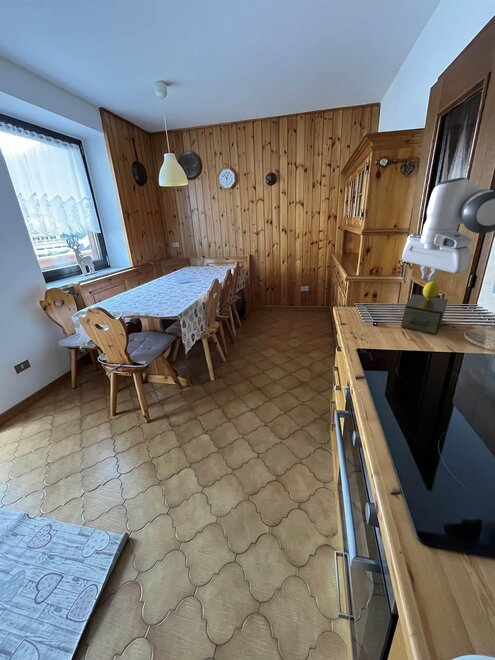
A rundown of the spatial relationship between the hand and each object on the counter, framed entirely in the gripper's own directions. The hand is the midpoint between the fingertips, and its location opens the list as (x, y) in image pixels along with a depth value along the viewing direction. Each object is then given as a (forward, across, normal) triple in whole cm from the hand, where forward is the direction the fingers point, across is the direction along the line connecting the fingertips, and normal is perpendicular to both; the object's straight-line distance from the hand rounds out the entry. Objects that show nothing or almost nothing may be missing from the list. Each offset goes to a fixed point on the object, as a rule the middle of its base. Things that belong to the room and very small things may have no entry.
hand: (427, 279), depth 95 cm
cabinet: (+25, -10, +18) cm, 32 cm away
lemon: (+15, -11, +20) cm, 28 cm away
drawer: (+24, -8, +14) cm, 29 cm away
